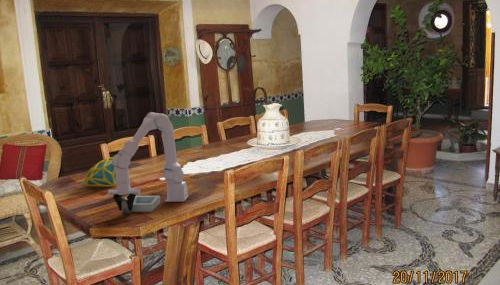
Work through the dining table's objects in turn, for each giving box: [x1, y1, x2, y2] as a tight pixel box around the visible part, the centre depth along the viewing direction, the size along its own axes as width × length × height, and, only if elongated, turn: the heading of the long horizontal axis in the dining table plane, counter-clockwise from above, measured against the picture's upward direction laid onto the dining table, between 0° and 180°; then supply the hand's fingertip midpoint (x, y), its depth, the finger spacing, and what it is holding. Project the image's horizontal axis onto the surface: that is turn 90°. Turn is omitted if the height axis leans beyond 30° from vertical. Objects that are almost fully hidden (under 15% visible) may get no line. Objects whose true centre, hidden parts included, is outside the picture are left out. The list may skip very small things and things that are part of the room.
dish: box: [131, 195, 161, 213], centre depth 217 cm, size 12×12×4 cm
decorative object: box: [84, 156, 117, 188], centre depth 253 cm, size 23×23×15 cm
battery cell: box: [120, 197, 132, 217], centre depth 208 cm, size 4×4×8 cm
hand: (126, 210), depth 209 cm, fingers closed on battery cell, 4 cm apart
